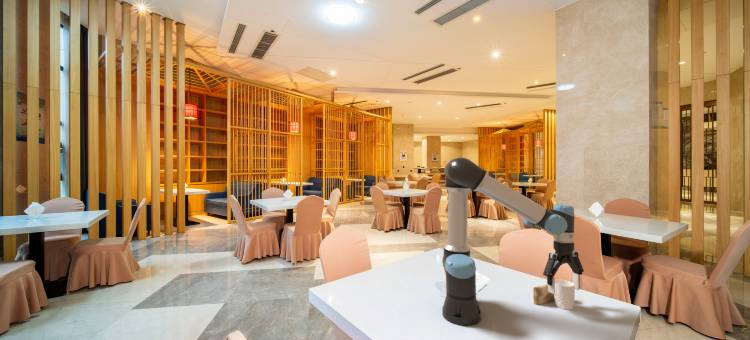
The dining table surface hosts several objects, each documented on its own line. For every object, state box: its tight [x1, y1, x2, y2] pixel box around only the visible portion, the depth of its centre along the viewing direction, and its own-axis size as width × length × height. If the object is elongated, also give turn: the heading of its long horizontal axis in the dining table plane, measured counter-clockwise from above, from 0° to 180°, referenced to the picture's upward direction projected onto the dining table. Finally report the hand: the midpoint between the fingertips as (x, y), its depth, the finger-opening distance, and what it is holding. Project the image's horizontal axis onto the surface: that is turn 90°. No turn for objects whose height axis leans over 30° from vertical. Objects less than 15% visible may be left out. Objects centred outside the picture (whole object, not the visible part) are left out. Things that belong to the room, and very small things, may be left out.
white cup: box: [554, 279, 576, 311], centre depth 124 cm, size 8×8×10 cm
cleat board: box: [532, 284, 555, 306], centre depth 128 cm, size 16×4×7 cm, turn 107°
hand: (563, 290), depth 124 cm, fingers open, 13 cm apart
